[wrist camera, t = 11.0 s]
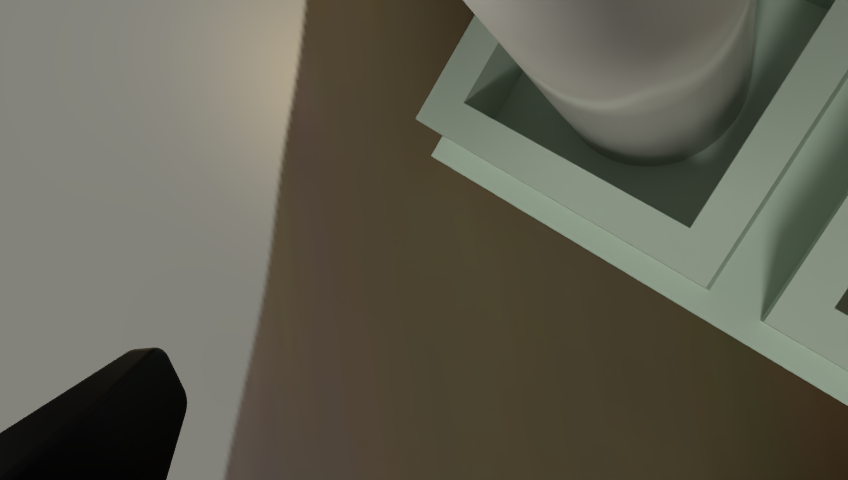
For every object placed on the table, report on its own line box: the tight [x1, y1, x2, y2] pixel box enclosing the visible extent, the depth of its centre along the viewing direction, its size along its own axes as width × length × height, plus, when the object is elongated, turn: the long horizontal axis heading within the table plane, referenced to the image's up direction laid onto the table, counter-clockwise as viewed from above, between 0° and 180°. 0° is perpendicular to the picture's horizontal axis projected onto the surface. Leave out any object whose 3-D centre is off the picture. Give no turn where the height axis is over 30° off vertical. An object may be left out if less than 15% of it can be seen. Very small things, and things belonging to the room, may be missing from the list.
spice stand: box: [416, 0, 848, 406], centre depth 17 cm, size 19×10×6 cm, turn 58°
